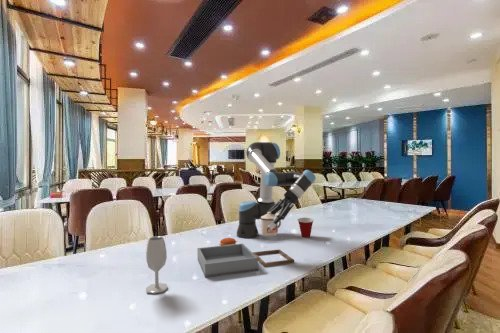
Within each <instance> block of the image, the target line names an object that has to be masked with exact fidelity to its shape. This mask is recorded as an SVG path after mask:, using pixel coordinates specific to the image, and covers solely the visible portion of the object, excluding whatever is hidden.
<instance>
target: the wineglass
mask: <svg viewBox="0 0 500 333" xmlns="http://www.w3.org/2000/svg"><path fill="white" fill-rule="evenodd" d="M167 258H168V256H167V247H166V242H165V239H164V237H163V236H159V235H158V236H150V237H149V238H148V239H147V244H146V250H145V259H146V263H147V267H148V268H149V269H150V270H151V271H153V272H154V283H152V284H149V285H148V286H147V287H146V288H145V291H146V294H153V295H154V294H160V293H164V292H165V291H167V290H168V289H169V287H168V284H167V283H164V282H160V281H159V280H160V278H159V271H161V269H163V267H164V266H166V262H167Z"/></svg>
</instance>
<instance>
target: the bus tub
mask: <svg viewBox="0 0 500 333" xmlns="http://www.w3.org/2000/svg"><path fill="white" fill-rule="evenodd" d="M196 250H197V254H196V255H197V261H198V264H199V265H200V268H201V271H202V273H203V275H204V278H211V277H218V276H226V275H228V276H229V275H235V274H241V273H249V272H254V271H255V272H256V271H259V262H258V258H257V257H256V256H255V255H254V254H253V253H252V251H251V250H250V249H249V248H248V247H247V246H246V245H245V244H244V243H236V244H233V245H223V246H220V245H214V246H206V247H205V246H204V247H198V248H197V249H196Z"/></svg>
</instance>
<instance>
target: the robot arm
mask: <svg viewBox="0 0 500 333" xmlns="http://www.w3.org/2000/svg"><path fill="white" fill-rule="evenodd" d="M245 153H246V157H247V159H248V160H249V162H251V163H253V164H254V165H255V166H256V168H257V169H258V170H259V171H260V186H259V197H258V198H257V202H256V201H255V200H248V201H246V200H245V201H242V202H241V203H239V205H238V225H237V226H238V227H237V229H236V237H238V238H240V239H241V238H242V239H243V238H244V239H253V238H257V237H258V236H259V231H258V227H257V220H261V216H264V215H265V214H267V212H271V214H273V215H275V216H277V217H278V218H277V217H275V218H274V219H273V221H272V222H271V223H270V224H269V225H268V227H269V228H270V229H271V230H272V229H273V228H274V227H275V226H276V224H277V223H278V224H279V221H280V220H281V221H284V220H285V219H286V217H287V215H288V214H289V213H290V212H291V210H292V208H293V207H294V206H295V204H296V203H297V202H298V200H299V199H300V198H301V197H302V196H303V195H304V194H305V192H306V191H307V190H308V189H309V188H310V187H311V186H312V184H314V182H315V180H316V178H317V177H316V175H315V174H314V172H312V171H311V170H309V169H305V170H304V171H302V173H301V172H297V171H288V172H287V171H285V172H283V171H282V172H279V171H278V170H277V169H276V168H275V167H274V166H275V164H276V163H277V160H279V159H280V157H281V149H280V146H279V145H278V143H277V142H272V141H269V142H263V141H262V142H259V141H258V142H257V141H256V142H253V143H251V144H249V145H248V146H247V148H246V151H245ZM282 186H283V187H284V186H285V187H286V186H290V187H289V188H288V190H286V192H284V194H283V197H284V198H283V199H282V198H280V199H278V201H277V202H276V201H275V200H274V198H273V187H282ZM277 213H278V214H277Z"/></svg>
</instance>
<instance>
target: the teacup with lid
mask: <svg viewBox="0 0 500 333" xmlns="http://www.w3.org/2000/svg"><path fill="white" fill-rule="evenodd" d="M275 217H277V215H276V214H275V215H273V214H271V212H267V214H265V215H264V216H261V219H260V228H261V230H260V232H261V235H262V236H265V237H274V236H277V235H278V234H279V233H278V229H279V228H280V227H281V226H282V220H280V221H279V222H278V223H277V224H276V226H275V227H274V228H273V229H272V230H271V229H270V228H269V227H268V225H269V224H270V223H271V222H272V221H273V219H274V218H275ZM277 218H278V217H277Z"/></svg>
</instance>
